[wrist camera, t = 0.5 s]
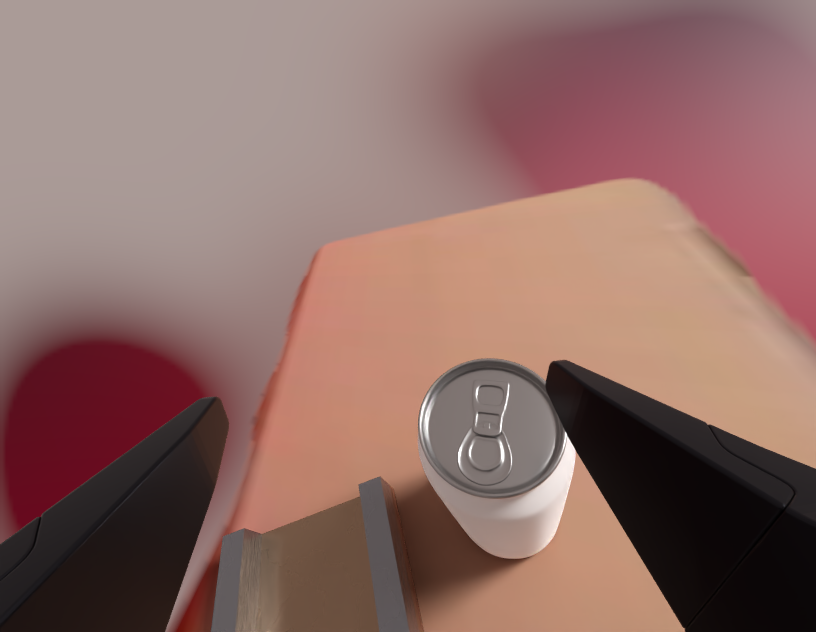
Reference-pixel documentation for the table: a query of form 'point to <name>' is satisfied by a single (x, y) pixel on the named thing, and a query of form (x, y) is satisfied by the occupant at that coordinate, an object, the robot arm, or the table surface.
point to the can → (497, 455)
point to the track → (321, 572)
